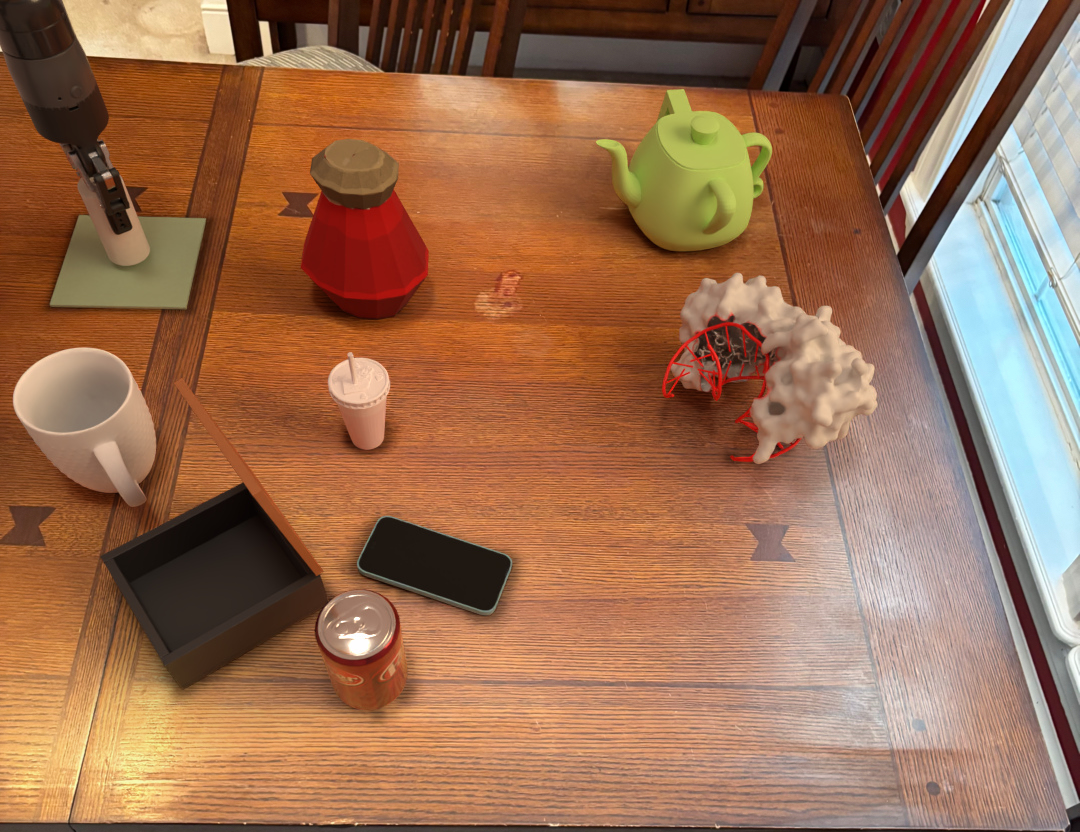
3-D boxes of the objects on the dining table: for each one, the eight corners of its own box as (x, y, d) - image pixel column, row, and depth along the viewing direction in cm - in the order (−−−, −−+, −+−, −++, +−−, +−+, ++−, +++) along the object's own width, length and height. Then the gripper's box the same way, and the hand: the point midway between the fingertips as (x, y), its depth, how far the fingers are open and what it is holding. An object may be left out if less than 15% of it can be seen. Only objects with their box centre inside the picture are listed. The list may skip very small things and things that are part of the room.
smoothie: (327, 442, 101) (307, 356, 89) (362, 405, 104) (347, 317, 92) (373, 468, 99) (359, 385, 87) (407, 430, 102) (399, 345, 90)
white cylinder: (104, 265, 110) (72, 197, 102) (112, 237, 113) (82, 168, 104) (145, 266, 111) (118, 198, 102) (153, 238, 113) (126, 170, 104)
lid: (252, 495, 70) (261, 490, 70) (173, 382, 75) (181, 377, 75) (316, 576, 85) (323, 571, 85) (246, 477, 90) (253, 473, 90)
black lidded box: (182, 690, 85) (164, 666, 80) (120, 584, 90) (99, 555, 85) (329, 603, 91) (320, 576, 85) (262, 509, 96) (251, 477, 91)
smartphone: (492, 615, 90) (353, 568, 91) (491, 620, 91) (354, 573, 92) (515, 556, 94) (381, 512, 95) (514, 561, 95) (382, 517, 96)
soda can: (398, 634, 89) (389, 577, 79) (416, 700, 86) (408, 650, 76) (325, 653, 88) (306, 597, 78) (340, 721, 84) (322, 673, 74)
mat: (50, 307, 108) (49, 304, 108) (80, 217, 116) (79, 214, 116) (186, 309, 109) (185, 307, 109) (206, 220, 118) (205, 218, 117)
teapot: (769, 208, 126) (802, 114, 114) (704, 290, 117) (732, 197, 105) (654, 155, 130) (673, 59, 118) (582, 230, 121) (595, 135, 109)
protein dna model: (661, 488, 109) (856, 512, 92) (600, 368, 99) (809, 369, 81) (735, 383, 118) (927, 386, 100) (687, 262, 107) (893, 243, 90)
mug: (203, 506, 95) (167, 431, 84) (101, 555, 92) (49, 483, 80) (147, 412, 101) (107, 330, 90) (49, 454, 97) (-6, 374, 86)
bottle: (289, 318, 110) (255, 178, 93) (332, 245, 117) (307, 103, 99) (411, 349, 108) (399, 213, 91) (447, 274, 115) (442, 135, 98)
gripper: (-7, 58, 94) (58, 195, 108) (47, 132, 88) (108, 265, 103) (64, 37, 96) (118, 173, 111) (120, 107, 91) (169, 240, 106)
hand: (113, 216), depth 107 cm, fingers closed on white cylinder, 5 cm apart
